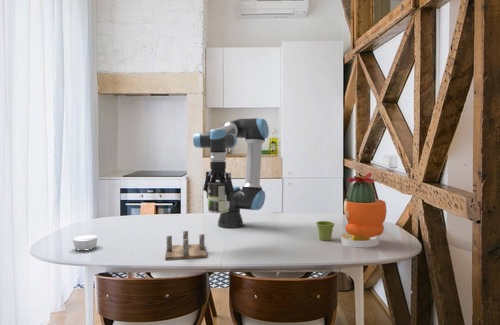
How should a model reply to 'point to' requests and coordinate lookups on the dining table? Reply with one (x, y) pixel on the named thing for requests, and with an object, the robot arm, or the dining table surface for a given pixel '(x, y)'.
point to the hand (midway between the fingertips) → (218, 206)
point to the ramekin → (85, 242)
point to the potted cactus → (363, 214)
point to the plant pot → (325, 230)
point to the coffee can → (216, 197)
